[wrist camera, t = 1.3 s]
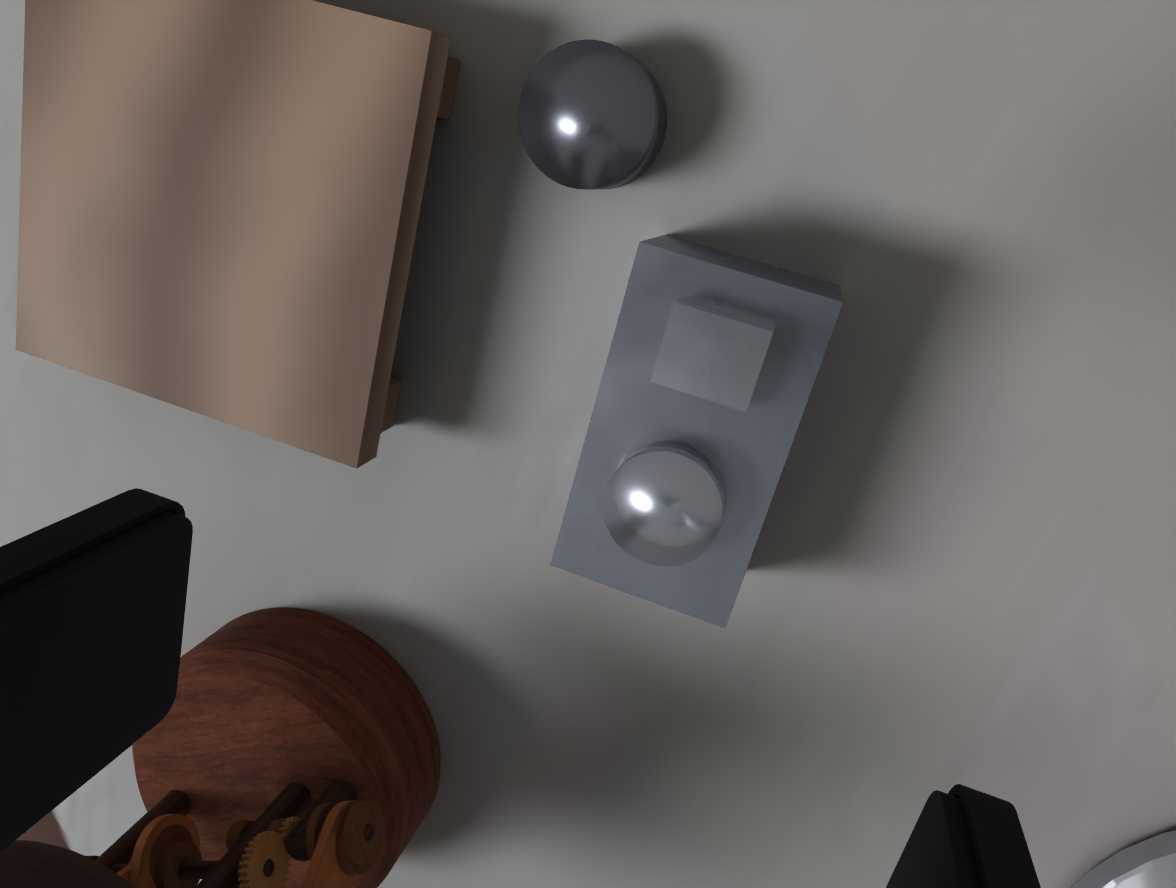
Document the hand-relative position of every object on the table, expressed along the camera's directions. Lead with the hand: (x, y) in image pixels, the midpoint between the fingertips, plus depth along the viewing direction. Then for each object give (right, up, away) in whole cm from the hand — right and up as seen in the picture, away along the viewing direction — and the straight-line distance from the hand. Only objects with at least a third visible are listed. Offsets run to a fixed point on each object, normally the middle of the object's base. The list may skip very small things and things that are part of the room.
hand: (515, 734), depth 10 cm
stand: (-9, +11, +17) cm, 22 cm away
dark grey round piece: (+1, +12, +14) cm, 19 cm away
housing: (+4, +5, +15) cm, 17 cm away
